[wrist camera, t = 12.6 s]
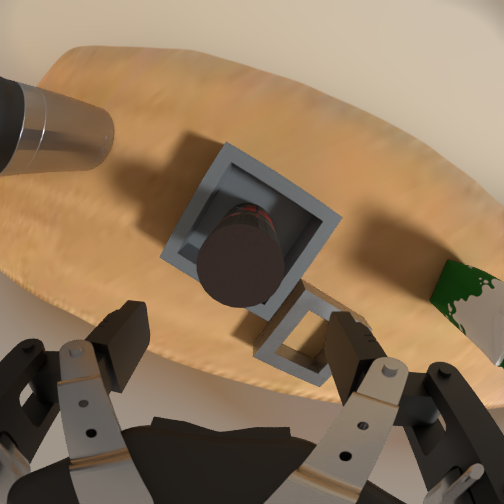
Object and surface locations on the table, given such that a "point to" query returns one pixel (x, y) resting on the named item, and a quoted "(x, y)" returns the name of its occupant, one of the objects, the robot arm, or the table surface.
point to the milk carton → (473, 306)
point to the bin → (266, 196)
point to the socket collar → (284, 323)
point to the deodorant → (241, 258)
